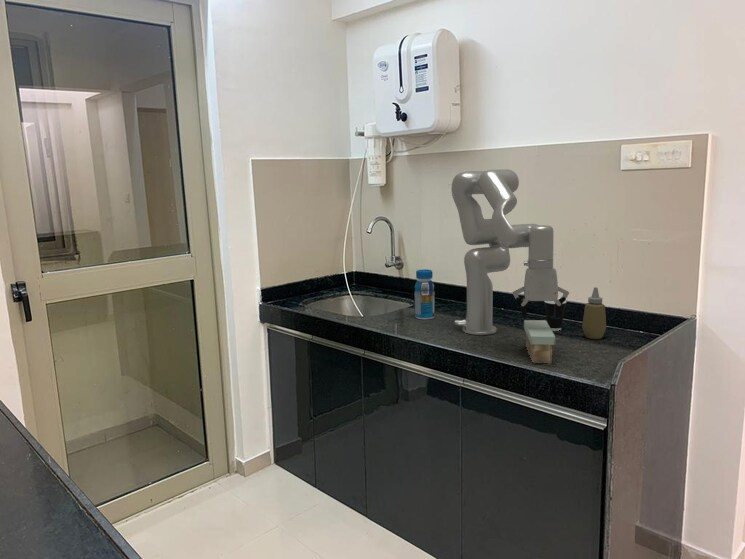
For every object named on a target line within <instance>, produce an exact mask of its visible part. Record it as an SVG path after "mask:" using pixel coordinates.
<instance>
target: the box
mask: <svg viewBox="0 0 745 559" xmlns="http://www.w3.org/2000/svg"><path fill="white" fill-rule="evenodd" d="M526 347H527V348H526ZM525 348H526V350H528V351H527V354H528V356H529V355H530V356H529V359H530V358H531V359H530V361H531V360H532V361H531V363H532V362H544V363H552V364H553V345H544V344H530V341H529V339H528V336H527V334H526V333H525Z"/></svg>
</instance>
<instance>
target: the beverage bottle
mask: <svg viewBox="0 0 745 559" xmlns="http://www.w3.org/2000/svg"><path fill="white" fill-rule="evenodd" d="M415 275H416V277H415V278H416V279H417V280H416V282H415V285H414V312H415V313H414V316H415V318H416V319H417V320H425V321H426V320H433V319H434V318H435V317H436V315H435V295H436V292H435V290H434V289H435V284H434V282H433V280H432V279H433V269H432V270H431V269H426V268H425V269H418V270H416V271H415Z"/></svg>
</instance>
